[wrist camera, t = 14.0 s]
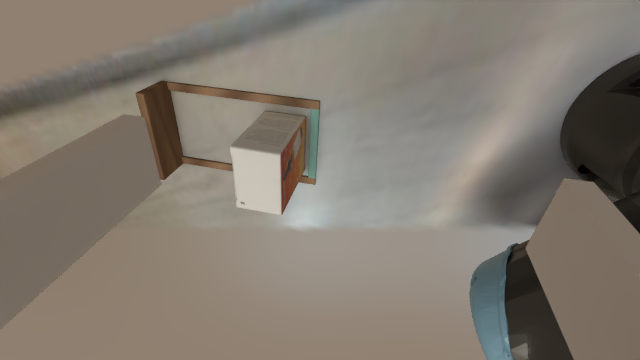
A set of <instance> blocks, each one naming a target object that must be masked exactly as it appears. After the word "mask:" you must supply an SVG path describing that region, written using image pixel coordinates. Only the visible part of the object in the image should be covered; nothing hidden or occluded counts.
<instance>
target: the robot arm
mask: <svg viewBox="0 0 640 360" xmlns="http://www.w3.org/2000/svg"><path fill="white" fill-rule="evenodd" d="M560 144H561V150H562V154H563V156H564V158H565V160H566V162H567V164H568V165H569V166H570V167H571V169H572V170H573V171H574V172H575V173H576V174H577V176H578V177H579V178H580V179H582V180H583V181H582V180H575V179H568V178H564V179H563V181H562V183H561V184H560V186H559V188H558V190H557V192H556V194H555V195H554V197H553V199H552V201H551V203H550V204H549V206H548V208H547V210H546V212H545V213H544V215H543V217H542V219H541V221H540V223H539V224H538V226H537V228H536V230H535V232H534V234H533V235H532V237H531V239H530V240H528V241H526V242H523V243H521V244H517V243H516V244H513V245H511V246H509V247H508V248H507V250H506V251H504V252H502V253H500V254H498V255H496V256H494V257H492V258H490V259H488V260H486V261H484V262H483V263H481V264H480V265H479V266H478V267H477V269H476V270H475V271H474V273H473V275H472V279H471V288H470V306H471V312H472V317H473V321H474V325H475V329H476V332H477V335H478V339H479V342H480V344H481V347H482V350H483V352H484V354H485V357H486V359H487V360H640V55H638V56H635V57H633V58H630V59H628V60H626V61H624V62H622V63H620V64H618V65H617V66H615V67H613V68H612V69H610V70H608V71H607V72H606V73H604V74H603V75H601V76H600V77H599V78H597V79H596V80H595V81H594V82H593V83H591V84H590V85H589V86H588V87H587V88H586V89H585V90H584V91H583V92H582V93H581V94H580V96H579V97H578V98H577V99H576V101H575V102H574V103H573V105H572V107H571V108H570V110H569V112H568V113H567V115H566V118H565V120H564V123H563V126H562V130H561V137H560ZM160 185H161V181H160V177H159V173H158V169H157V165H156V161H155V157H154V153H153V149H152V145H151V141H150V137H149V133H148V130H147V126H146V122H145V118H144V117H140V116H133V115H127V114H123V115H122V116H120V117H118V118H116V119H114V120H112V121H110V122H108V123H106V124H105V125H103V126H101V127H99V128H97V129H95V130H93V131H91V132H89V133H88V134H86V135H84V136H82V137H80V138H78V139H76V140H74V141H72V142H71V143H69V144H67V145H65V146H63V147H61V148H59V149H57V150H55V151H54V152H52V153H50V154H48V155H46V156H44V157H42V158H40V159H38V160H37V161H35V162H33V163H31V164H29V165H27V166H25V167H23V168H21V169H20V170H18V171H16V172H14V173H12V174H10V175H8V176H6V177H4V178H3V179H1V180H0V330H1V329H2V328H3V327H4V326H5V325H6V324H7V323H8V322H9V321H10V320H12V319H13V318H14V317H15V316H16V315H17V314H18V313H19V312H21V311H22V310H23V309H24V308H25V307H26V306H27V305H28V304H29V303H30V302H32V301H33V300H34V299H35V298H36V297H37V296H38V295H39V294H40V293H42V292H43V291H44V290H45V289H46V288H47V287H48V286H49V285H50V284H51V283H53V282H54V281H55V280H56V279H57V278H58V277H59V276H60V275H62V273H64V272H65V271H66V270H67V269H68V268H69V267H70V266H72V264H74V263H75V262H76V261H77V260H78V259H79V258H80V257H81V256H83V255H84V254H85V253H86V252H87V251H88V250H89V249H90V248H91V247H93V246H94V245H95V244H96V243H97V242H98V241H99V240H100V239H101V238H102V237H104V235H106V234H107V233H108V232H109V231H110V230H111V229H113V228H114V227H115V226H116V225H117V224H118V223H119V222H120V221H121V220H122V219H124V218H125V217H126V216H127V215H128V214H129V213H130V212H131V211H132V210H134V209H135V208H136V207H137V206H138V205H139V204H140V203H141V202H142V201H144V200H145V199H146V198H147V197H148V196H149V195H150V194H151V193H152V192H154V191H155V190H156V189H157V188H158V187H159V186H160ZM603 192H604V193H606V194H608V195H611V196H613V197H615V198H618V199H620V200H618V201H616V202H614V203H612V202H611V201H610V200H609V199H608V198H607V196H606V195H605V194H604V193H603Z"/></svg>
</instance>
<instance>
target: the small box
mask: <svg viewBox="0 0 640 360" xmlns="http://www.w3.org/2000/svg"><path fill="white" fill-rule="evenodd" d="M305 132H306V117H305V116H298V115H291V114H283V113H276V112H268V111H265V112H264V113H263V114H262V115H261V116H260V117H259V118H258V119H257V120H256V121H255V122H254V123H253V124H252V125H251V126H250V127H249V128H248V129H247V130H246V131H245V132H244V133H243V134H242V135H241V136H240V137H239V138H238V139H237V140H236V141H235V142H234V143H233V144H232V145H231V146H230V152H231V158H232V166H233V175H234V184H235V194H236V207H240V208H245V209H250V210H256V211H262V212H267V213H273V214H279V215H282V214H283V212H284V210H285V208H286V206H287V204H288V202H289V200H290V198H291V196H292V194H293V192H294V190H295V188H296V186H297V184H298V182H299V180H300V178H301V176H302V174H303V172H304V170H305Z"/></svg>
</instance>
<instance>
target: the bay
mask: <svg viewBox="0 0 640 360" xmlns="http://www.w3.org/2000/svg"><path fill="white" fill-rule="evenodd" d="M170 90H172V91H179V92H187V93H195V94H202V95H210V96H218V97H225V98H233V99H241V100H248V101H256V102H263V103H271V104H279V105H286V106H294V107H302V108H309V109H311V121H310V145H309V170H308V176H303V175H302V176H301V178H300V180H299V182H302V183H308V184H314V185H315V181H316V163H317V146H318V128H319V110H320V101H316V100H308V99H301V98H293V97H285V96H277V95H269V94H261V93H253V92H245V91H237V90H229V89H222V88H214V87H206V86H198V85H190V84H182V83H174V82H166V81H160V82H158V83H156V84H153V85H151V86H149V87H147V88H145V89H143V90H141V91H139V92H137V93H136V97H137V101H138V105H139V109H140V112H141V116H142V117H144V118H145V122H146V126H147V130H148V133H149V137H150V141H151V145H152V149H153V153H154V157H155V161H156V165H157V169H158V173H159V177H160V179H162V180H165V179H166V178H167V177H168V176H169V175H170V174H172V173H173V172H174V171H175V170H176V169H177V168H178V167H179V166H181V165H182V164H183V163H186V164H192V165H198V166H204V167H210V168H216V169H222V170H228V171H233V166H232V164H228V163H222V162H216V161H210V160H203V159H197V158H191V157H185V156H183V153H182V148H181V143H180V138H179V133H178V128H177V123H176V118H175V113H174V108H173V103H172V98H171V93H170Z"/></svg>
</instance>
